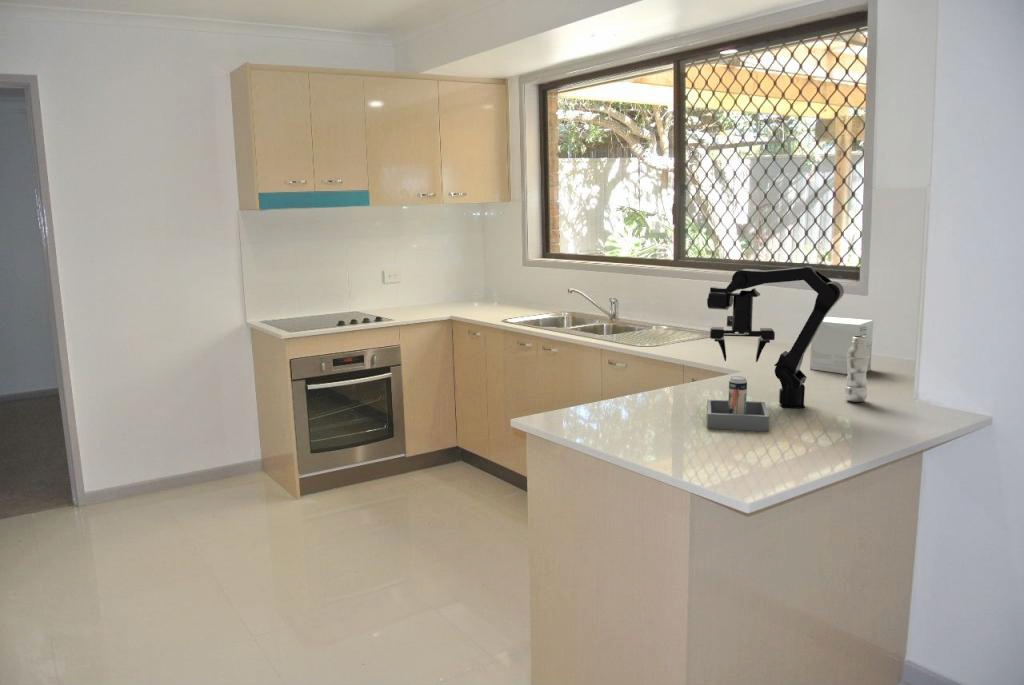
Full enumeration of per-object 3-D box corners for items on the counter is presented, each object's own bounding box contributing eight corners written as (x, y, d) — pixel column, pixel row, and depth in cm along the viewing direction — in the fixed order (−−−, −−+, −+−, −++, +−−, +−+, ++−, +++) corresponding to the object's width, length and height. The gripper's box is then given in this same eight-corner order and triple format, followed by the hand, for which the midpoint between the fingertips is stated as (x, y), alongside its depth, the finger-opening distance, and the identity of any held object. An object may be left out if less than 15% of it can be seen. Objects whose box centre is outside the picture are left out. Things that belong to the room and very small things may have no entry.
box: (764, 415, 231) (764, 401, 230) (768, 431, 216) (769, 416, 215) (706, 412, 235) (707, 399, 234) (707, 428, 219) (707, 413, 219)
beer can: (725, 417, 227) (726, 376, 225) (741, 417, 228) (743, 375, 226) (731, 422, 223) (732, 380, 221) (748, 421, 223) (749, 379, 221)
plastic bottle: (867, 399, 247) (871, 335, 243) (866, 405, 241) (870, 339, 237) (844, 398, 249) (848, 334, 246) (843, 403, 243) (847, 337, 240)
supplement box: (871, 370, 288) (874, 319, 285) (857, 376, 279) (860, 324, 276) (823, 363, 300) (826, 315, 297) (808, 369, 291) (811, 319, 287)
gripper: (772, 307, 251) (770, 357, 253) (710, 306, 255) (709, 355, 257) (775, 312, 240) (773, 364, 243) (711, 311, 244) (709, 362, 247)
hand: (740, 361), depth 248 cm, fingers open, 9 cm apart
